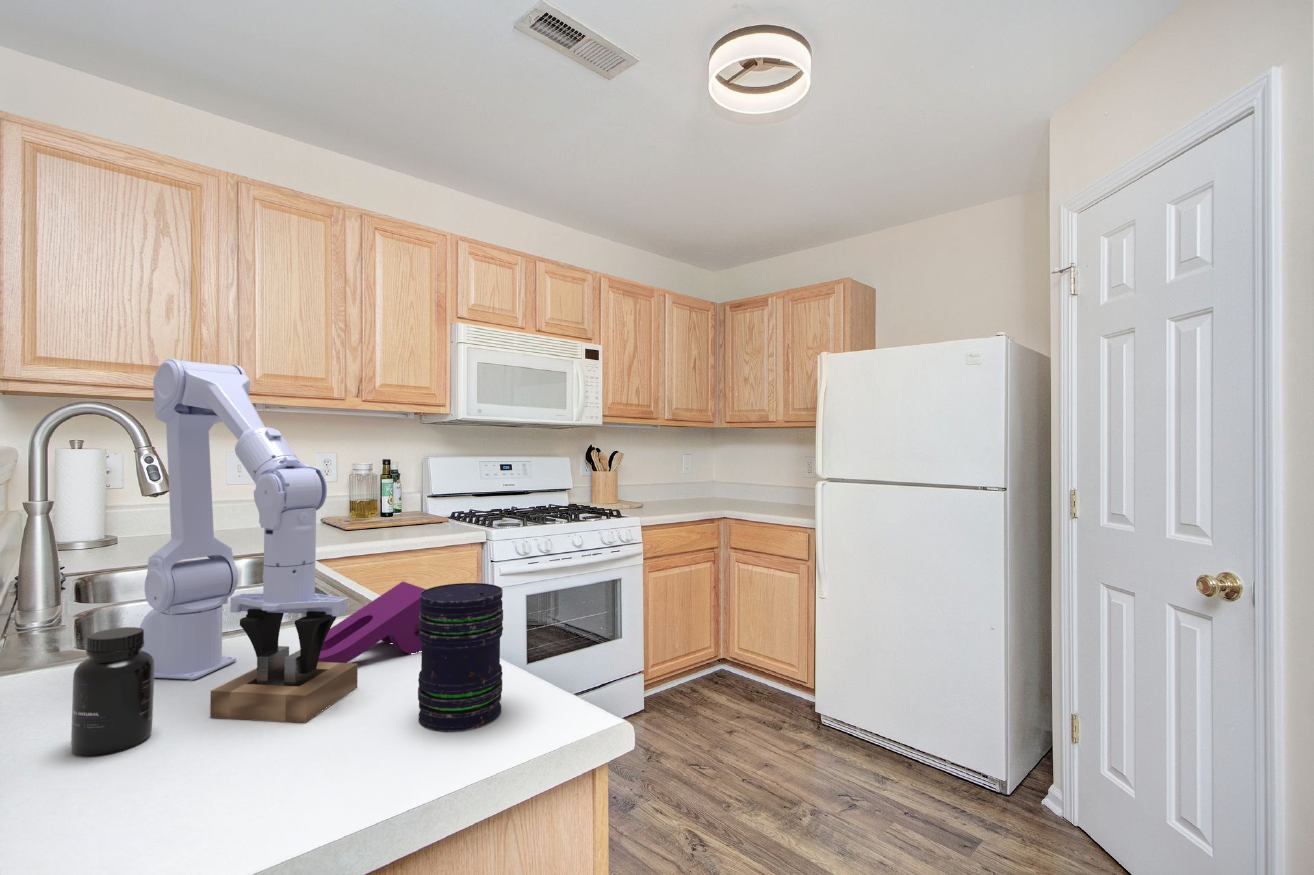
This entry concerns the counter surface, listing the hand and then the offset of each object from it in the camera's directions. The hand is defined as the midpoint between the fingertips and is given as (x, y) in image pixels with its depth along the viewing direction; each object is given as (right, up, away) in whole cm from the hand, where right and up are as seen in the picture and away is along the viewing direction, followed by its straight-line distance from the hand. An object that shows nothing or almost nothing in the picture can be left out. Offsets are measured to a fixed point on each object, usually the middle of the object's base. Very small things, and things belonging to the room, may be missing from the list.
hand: (288, 670), depth 82 cm
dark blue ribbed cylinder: (+23, -5, -3) cm, 23 cm away
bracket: (0, -3, 0) cm, 3 cm away
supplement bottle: (-13, -4, -11) cm, 17 cm away
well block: (0, -4, 0) cm, 4 cm away
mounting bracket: (+3, -5, +19) cm, 19 cm away
